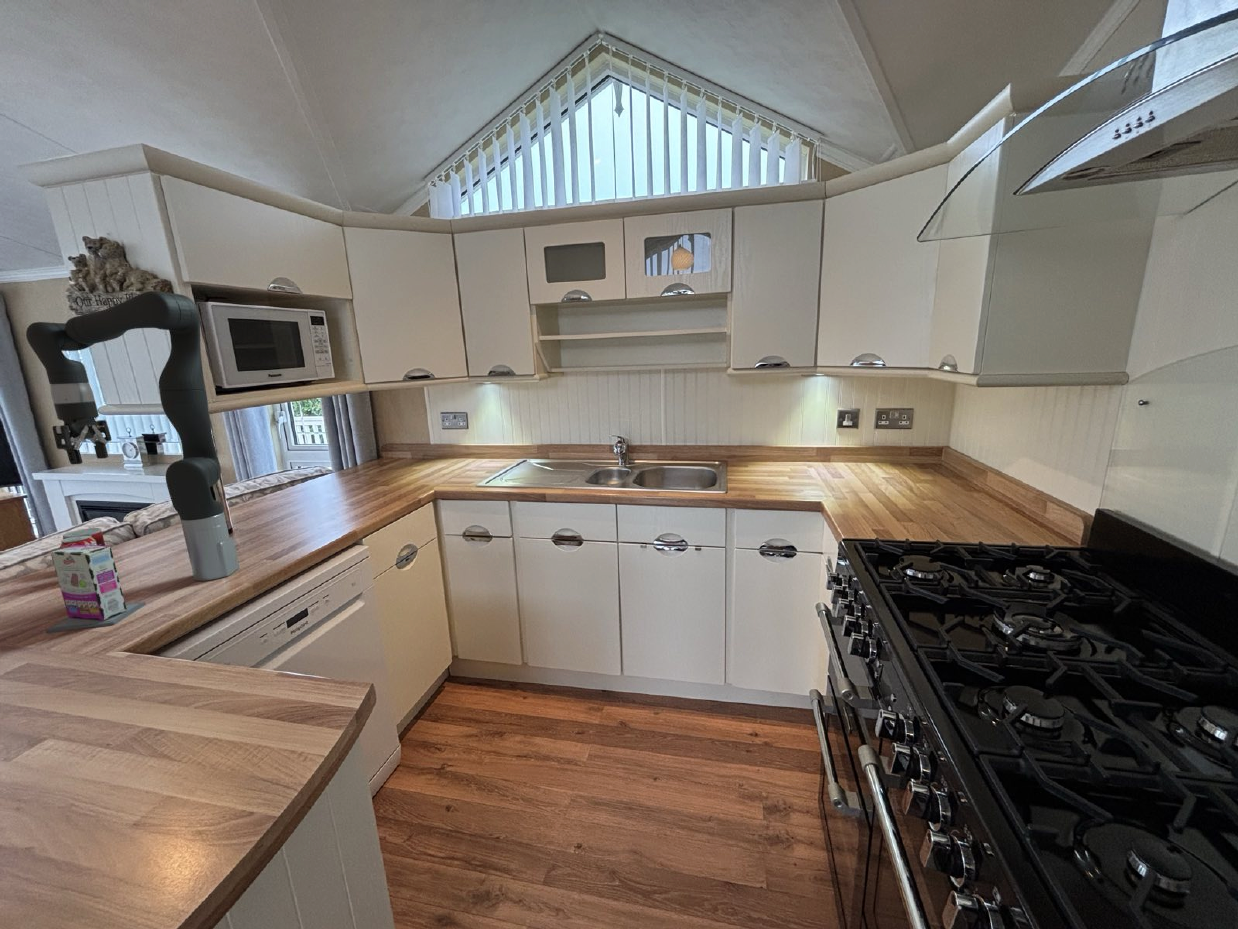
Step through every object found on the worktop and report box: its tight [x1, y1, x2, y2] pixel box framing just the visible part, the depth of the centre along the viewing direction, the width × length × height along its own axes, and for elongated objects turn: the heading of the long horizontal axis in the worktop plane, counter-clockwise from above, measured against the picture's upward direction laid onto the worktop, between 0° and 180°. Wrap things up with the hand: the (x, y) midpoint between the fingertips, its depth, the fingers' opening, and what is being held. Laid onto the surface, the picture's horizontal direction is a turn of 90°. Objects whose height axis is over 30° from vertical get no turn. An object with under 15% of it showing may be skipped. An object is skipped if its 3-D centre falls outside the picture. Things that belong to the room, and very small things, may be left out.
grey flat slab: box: [44, 601, 147, 633], centre depth 116 cm, size 13×10×1 cm
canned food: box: [62, 527, 106, 546], centre depth 147 cm, size 8×8×11 cm
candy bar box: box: [49, 545, 127, 620], centre depth 114 cm, size 11×5×16 cm, turn 78°
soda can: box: [59, 535, 97, 549], centre depth 138 cm, size 7×7×12 cm
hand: (90, 461), depth 134 cm, fingers open, 8 cm apart
